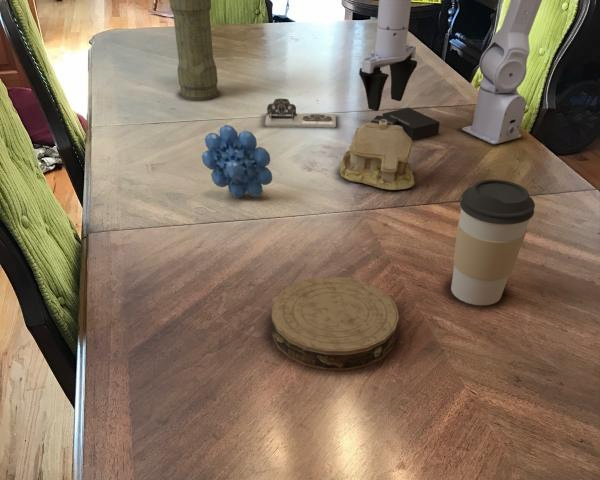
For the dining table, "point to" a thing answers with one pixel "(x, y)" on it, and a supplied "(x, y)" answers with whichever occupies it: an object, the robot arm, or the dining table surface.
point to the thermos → (194, 49)
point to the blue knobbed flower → (237, 162)
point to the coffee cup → (489, 239)
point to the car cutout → (295, 116)
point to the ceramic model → (379, 157)
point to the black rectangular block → (389, 120)
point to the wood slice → (334, 323)
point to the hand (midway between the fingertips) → (385, 104)
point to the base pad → (414, 123)
